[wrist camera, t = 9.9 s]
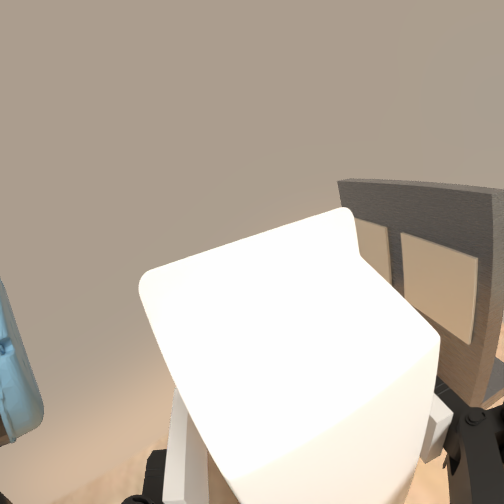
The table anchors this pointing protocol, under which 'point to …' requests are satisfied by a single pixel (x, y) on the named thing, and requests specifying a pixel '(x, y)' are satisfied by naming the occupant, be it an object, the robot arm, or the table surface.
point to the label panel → (441, 268)
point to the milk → (298, 364)
